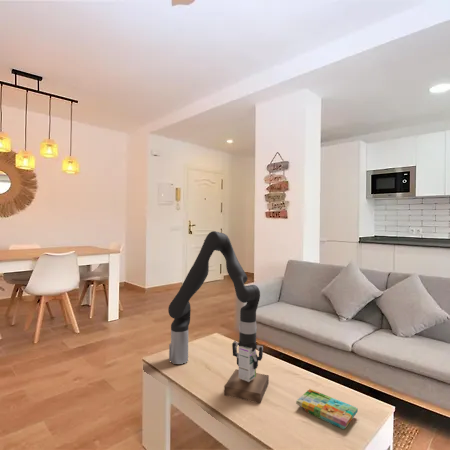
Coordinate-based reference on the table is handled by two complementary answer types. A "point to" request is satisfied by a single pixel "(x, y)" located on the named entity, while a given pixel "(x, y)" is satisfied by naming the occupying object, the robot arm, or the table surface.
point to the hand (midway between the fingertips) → (247, 366)
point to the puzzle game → (327, 408)
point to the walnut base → (247, 387)
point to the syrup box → (246, 364)
